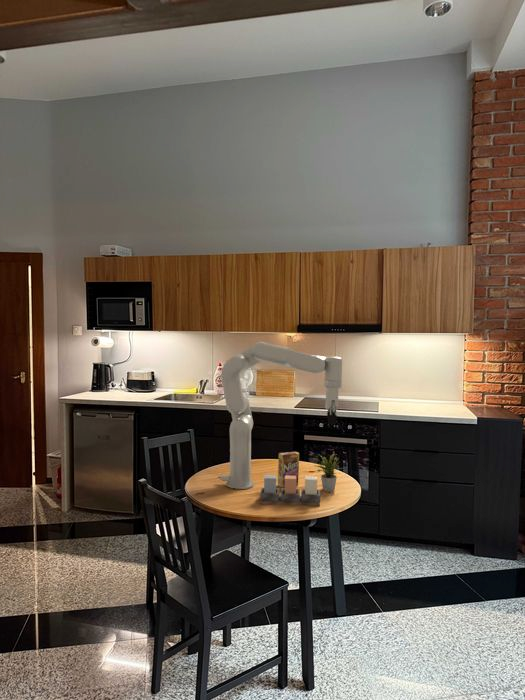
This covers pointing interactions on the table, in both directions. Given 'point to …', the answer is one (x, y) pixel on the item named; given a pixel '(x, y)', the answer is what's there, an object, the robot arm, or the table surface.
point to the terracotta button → (290, 484)
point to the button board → (290, 498)
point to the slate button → (270, 484)
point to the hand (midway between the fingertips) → (331, 422)
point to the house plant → (328, 474)
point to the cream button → (311, 485)
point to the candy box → (288, 467)
